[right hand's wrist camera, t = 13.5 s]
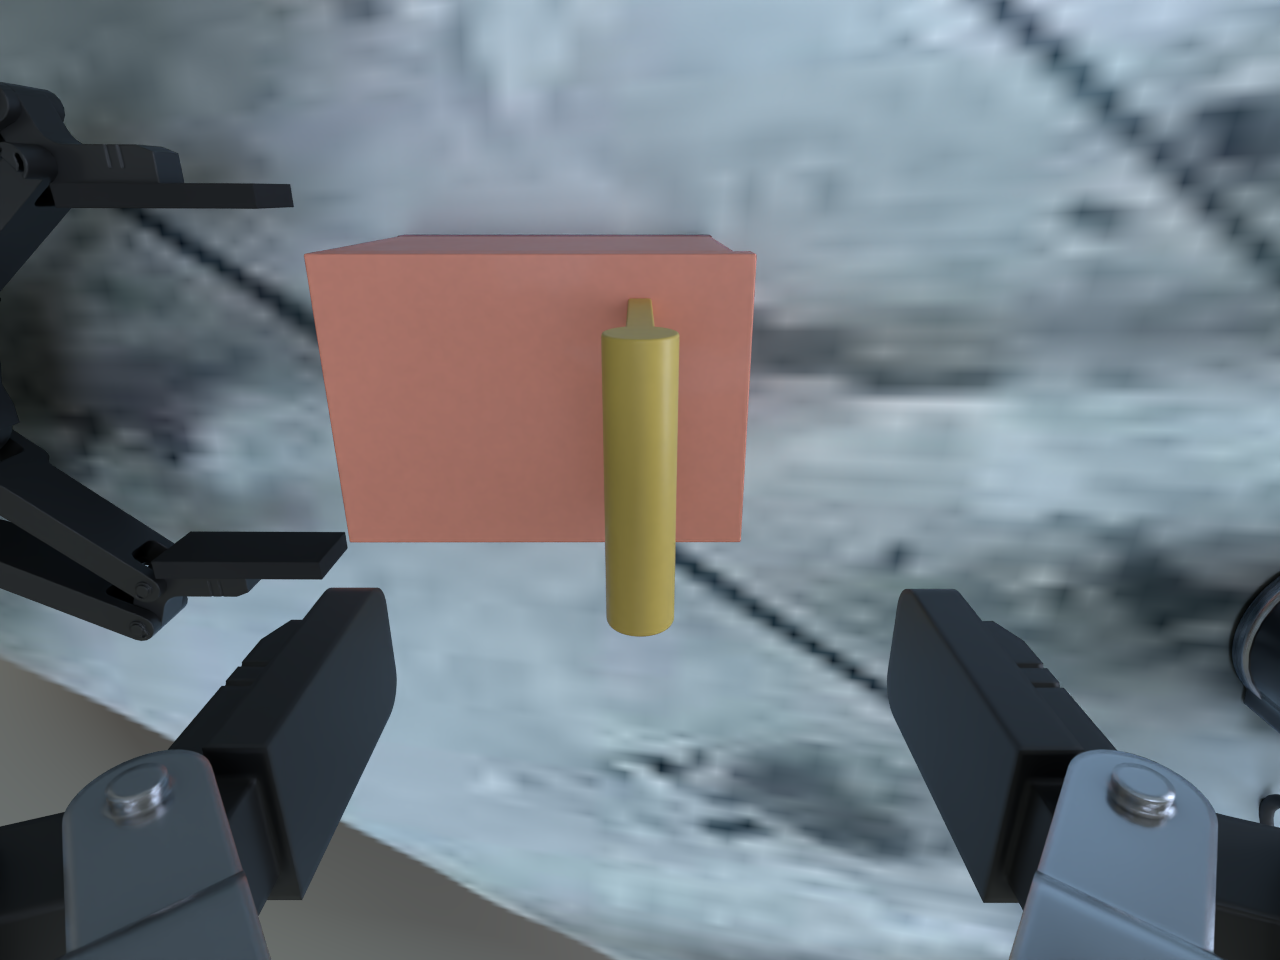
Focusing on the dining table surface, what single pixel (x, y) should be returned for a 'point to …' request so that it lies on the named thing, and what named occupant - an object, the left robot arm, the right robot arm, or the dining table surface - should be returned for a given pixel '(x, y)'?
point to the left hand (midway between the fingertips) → (308, 391)
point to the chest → (541, 243)
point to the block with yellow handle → (542, 402)
